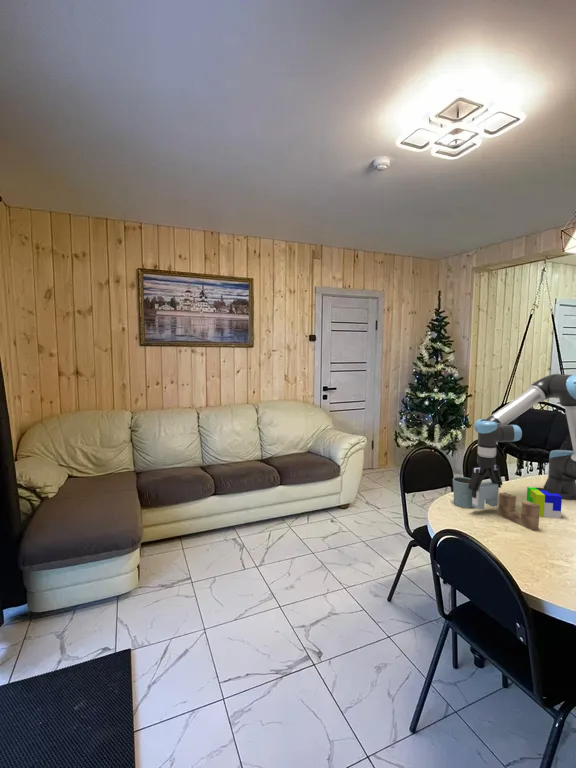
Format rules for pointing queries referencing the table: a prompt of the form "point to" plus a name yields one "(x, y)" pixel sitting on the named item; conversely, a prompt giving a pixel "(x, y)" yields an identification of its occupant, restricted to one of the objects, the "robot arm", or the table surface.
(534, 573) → the table surface
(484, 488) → the grey arch block
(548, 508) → the puzzle toy
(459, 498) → the grey cup
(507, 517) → the walnut upright
